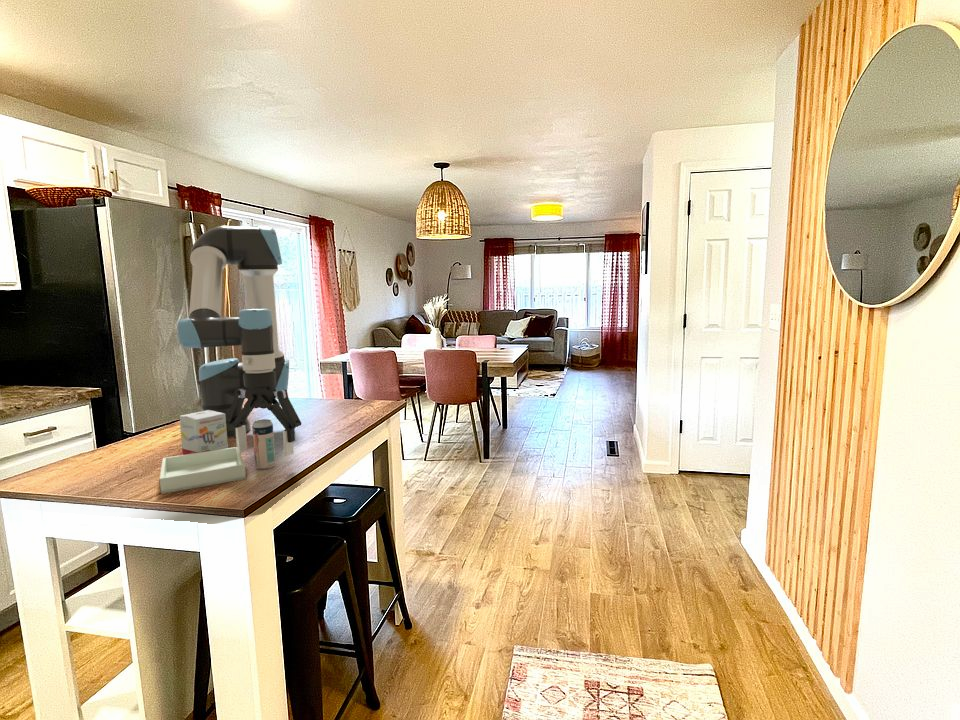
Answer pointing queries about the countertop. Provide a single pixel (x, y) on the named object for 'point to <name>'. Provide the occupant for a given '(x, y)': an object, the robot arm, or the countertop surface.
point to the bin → (201, 469)
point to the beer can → (264, 444)
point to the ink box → (203, 432)
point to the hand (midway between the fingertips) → (265, 453)
